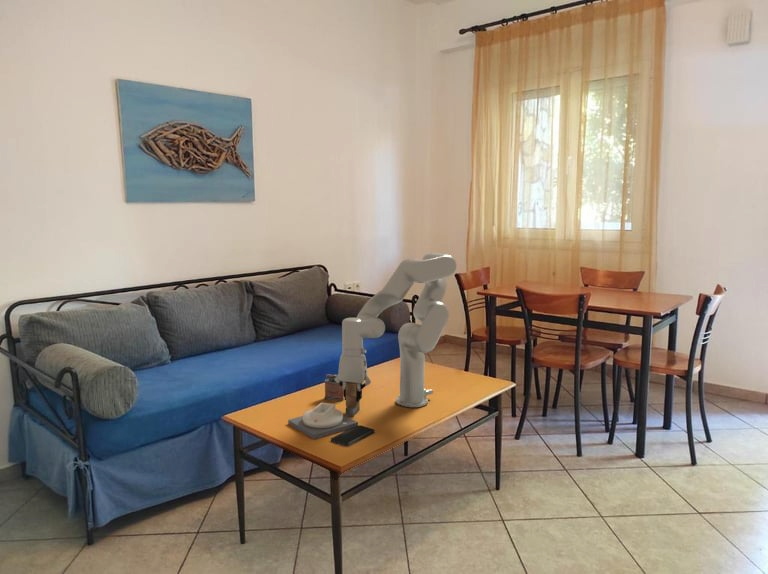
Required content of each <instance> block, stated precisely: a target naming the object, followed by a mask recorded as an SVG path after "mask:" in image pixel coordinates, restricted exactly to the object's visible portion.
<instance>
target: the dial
mask: <svg viewBox="0 0 768 574" xmlns="http://www.w3.org/2000/svg"><path fill="white" fill-rule="evenodd" d="M343 415H344V414H343V411H341V410H339V409H336V403H327V402H320V403H319V404H317V406H315V407H314V408H313V409H312V408H311V409H310V410H309V409H308V410H306V411H305V412H304V413H303V414H302V416H303V423H304V424H305V425H306V426H308V427H312V428H330V427H334V426H337V425H339V424H341V423H342V421H343Z"/></svg>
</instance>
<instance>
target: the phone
mask: <svg viewBox="0 0 768 574" xmlns="http://www.w3.org/2000/svg"><path fill="white" fill-rule="evenodd" d="M375 431H376V430H375V429H374V428H370V427H367V426H364V425H360V424H358V425H357V426H355V427H353V428H351V429H347V430H344V431H342V432H341V433H340V432H339V434H336V435H334V436H332V437H331V438H330V442H331V443H334V444H337V445H340V446H343V447H347V448H348V447H351V446H352V445H354V444H356V443H358V442H360V441H362V440H364V439H366V438H367V437H370V436H372V435H373V434H375V433H376V432H375Z"/></svg>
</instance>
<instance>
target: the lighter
mask: <svg viewBox="0 0 768 574" xmlns="http://www.w3.org/2000/svg"><path fill="white" fill-rule="evenodd" d="M337 375H338V374H330V373H329V374H326V375H325V380H324V393H325V394H324V399H325V400H328V401H332V402H333V401H334V402H344V401H345V397H344V396H343V389H342V387H341V386H340V385H339V383H337V382H336V381H335V378H336V376H337Z"/></svg>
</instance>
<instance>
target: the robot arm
mask: <svg viewBox="0 0 768 574" xmlns="http://www.w3.org/2000/svg"><path fill="white" fill-rule="evenodd" d="M456 271H457V262H456V259H455V258H454V257H453V256H452V255H450V254H444V253H437V252H428V253H426V254H425V255H424V256H423V257H422V259H414V258H406V259H404V260H402V261H401V262H400V263H399V265H398V266H397V268H396V269H395V270H394V272H393V273H392V275H391V277H390V278H389V279H388V281H387V282H386V284H385V285H384V286H383V288H382V289H381V290H379V291H378V292H376V293H375V295H373V296H371V297H370V299H369V300H367V302H365V304H364V305H363V306H362V307H361V309H360V310H359V312H358V314H357V315H356V317H347V318H346V317H345V318H344V319H342V322H341V341H342V342H341V343H342V346H341V347H342V348H341V349H342V351H341V354H340V357H339V363H338V373H337V374H336V375H337V376H336V378H335V381H336V382H337V383H339V385H340V386H341V387H342V389H343V397H344V401H346V382H351V383H357V392H356V401H357V402H358V401H359V400H360V401H361V399H362V398H363V389H364V388H365V387H367V386H369V385H370V384H371V383H372V381H371V379H370V378H369V376H368V366H367V358H366V355H365V354H367V349H365V348H364V345H363V343H364V338H365V339H366V338H368V339H369V338H370V339H375V338H380V337H382V336H383V335H384V333H385V331H386V325H385V323H384V321H383V320H382V319H381V318H378V317H379V315H380V314H381V313H383V311H385V310H386V309H388V308H389V307H392V306H395V305H398V304H399V303H401V302H402V301H403V300H404V299H405V297H406V296H407V294H408V293H409V291H410V290H411V288H412V286H413V285H414V284H415V283H417V284H424V287H423V288H422V291H421V293H420V295H419V297H418V299H417V301H416V303H415V304H414V307H413V310H412V314H413V317H414V318H415V319H416V320H417V321H418V322H421V324H419V323H415V322H407V323H404V324H403V325H402V326H401V327H400V329H399V330H398V336H397V339H398V340H397V341H398V344H399V345H398V347H399V356H400V357H399V359H400V360H399V361H400V362H399V363H400V365H399V396H397V397H396V399H395V403H396V404H397V405H398V406H400V405H401V406H400V407H405V408H420V407H421V408H422V407H425V406H427V405H428V402H429V399H428V398H427V396H428V395H433V393H434V392H433V391H434V390H433V389H431V388H430V389H427V390H426V388H425V369H426V368H425V363H426V362H425V361H426V360H425V359H426V358H425V354H426V353H427V354H428V353H429V352H432V350H434V348H436V346H437V344H438V341H440V340H439V339H440V338H441V336H442V334H443V332H444V329H445V328H446V326H447V323H448V322H449V321H448V320H449V315H450V313H449V309H448V307H447V306H446V304H445V303H444V302H442V301H443V299H444V296H445V294H446V291H447V278H450V277H452V276H453V275H454V274H455V272H456Z"/></svg>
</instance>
